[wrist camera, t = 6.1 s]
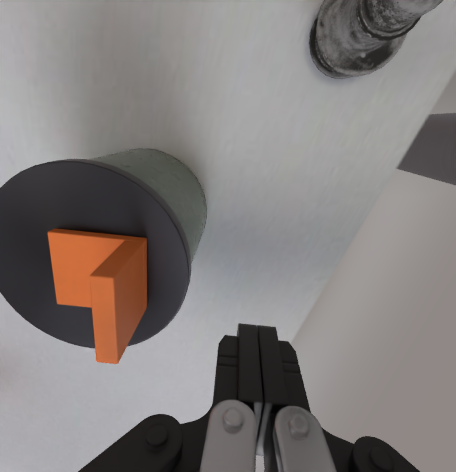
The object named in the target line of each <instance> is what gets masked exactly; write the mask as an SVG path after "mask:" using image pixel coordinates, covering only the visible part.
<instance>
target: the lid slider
mask: <svg viewBox="0 0 456 472" xmlns="http://www.w3.org/2000/svg"><path fill="white" fill-rule="evenodd" d="M48 239H49V247H50V254H51V262H52V269H53V277H54V284H55V292H56V299H57V304H63V305H72V306H82V307H91V308H92V315H93V327H94V339H95V351H96V361H97V362H103V363H112V364H118V363H119V361H120V359H121V357H122V355H123V353H124V351H125V349H126V347H127V345H128V343H129V341H130V339H131V337H132V335H133V333H134V332H135V330H136V328H137V326H138V324H139V322H140V320H141V318H142V316H143V314H144V312H145V310H146V308H147V238H142V237H133V236H123V235H113V234H104V233H94V232H84V231H75V230H65V229H55V228H54V229H52V230H50V231H48Z"/></svg>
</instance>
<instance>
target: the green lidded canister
mask: <svg viewBox="0 0 456 472" xmlns="http://www.w3.org/2000/svg"><path fill="white" fill-rule="evenodd" d="M206 217H207V207H206V200H205V196H204V193H203V190H202V188H201V186H200V184H199V182H198V180H197V179H196V177H195V176H194V175H193V173H192V172H191V171H190V170H189V169H188V168H187V167H186V166H185V165H184V164H183V163H181V162H180V161H179V160H177V159H175V158H174V157H172V156H170V155H168V154H166V153H163V152H160V151H157V150H151V149H134V150H129V151H124V152H120V153H116V154H111V155H107V156H102V157H98V158H94V159H89V160H87V159H66V160H57V161H52V162H47V163H43V164H39V165H35V166H33V167H30V168H28V169H26V170H23V171H21V172H20V173H18V174H17V175H15V176H14V177H12V178H11V179H10V180H8V181H7V182H6V183H5V184H4V185H3V186H2V187H1V188H0V292H1V294H2V295H3V296H4V298H5V299H6V301H7V302H8V303H9V304H10V305H11V306H12V307H13V308H14V309H15V311H17V312H18V313H19V314H20V315H21V316H22V317H23V318H24V319H25V320H27V321H28V322H30V323H31V324H32V325H34V326H35V327H36V328H38V329H40V330H41V331H43V332H45V333H46V334H49V335H51V336H53V337H55V338H57V339H59V340H62V341H65V342H67V343H70V344H74V345H78V346H82V347H89V348H95V339H94V327H93V315H92V308H91V307H82V306H72V305H63V304H57V299H56V292H55V284H54V277H53V269H52V262H51V254H50V247H49V239H48V231H50V230H52V229H54V228H55V229H65V230H75V231H84V232H94V233H104V234H113V235H123V236H133V237H142V238H147V308H146V310H145V312H144V314H143V316H142V318H141V320H140V322H139V324H138V326H137V328H136V330H135V332H134V333H133V335H132V337H131V339H130V341H129V343H128V345H127V346H131V345H134V344H137V343H140V342H142V341H145V340H147V339H149V338H151V337H152V336H154V335H156V334H157V333H159V332H160V331H161V330H162V329H164V328H165V327H166V326H167V325H168V324H169V323H170V322H171V321H172V320H173V318H174V317H175V316H176V314H177V313H178V311H179V310H180V307H181V305H182V303H183V301H184V299H185V296H186V293H187V289H188V286H189V282H190V276H191V264H192V261H193V258H194V255H195V252H196V250H197V247H198V244H199V241H200V238H201V236H202V233H203V230H204V227H205V223H206Z"/></svg>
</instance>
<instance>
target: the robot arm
mask: <svg viewBox="0 0 456 472" xmlns="http://www.w3.org/2000/svg"><path fill="white" fill-rule="evenodd" d="M256 455H259V456H264V466H265V467H264V468H265V470H264V472H420V471H419V470H418V469H416V468H415V467H414V466H413V465H412V464H411V463H409V462H408V461H407V460H406V459H405V458H404V457H403V456H402V455H400V454H399V453H398V452H397V451H396V450H395V449H393V448H392V447H391V446H390V445H389V444H387V443H385V442H384V441H382V440H380V439H377V438H375V437H370V436H365V437H361V438H359V439H358V440H357V441H356V442H355V444H353V443H350V442H348V441H346V440H343V439H341V438H338V437H336V436H334V435H332V434H330V433H328V432H327V431H326V430H324V429H323V428H322V427H321V425H320V423H319V422H318V420H317V419H316V418H315V416H314V415H313V414H311V411H310V408H309V404H308V400H307V396H306V392H305V388H304V384H303V380H302V375H301V373H300V367H299V365H298V360H297V356H296V351H295V350H294V349H293V347H292V346H291V345H290V343H289V342H287V341H278V336H277V331H276V327H270V326H260V325H257V326H256V325H249V324H240V323H239V324H238V330H237V336H228V335H225V336H224V337H223V339H222V340H221V341H220V343H219V347H218V356H217V366H216V375H215V386H214V396H213V404H212V406H211V408H210V410H209V411H208V412H207V413H206V414H205V415H204V416H203V417H201V418H200V419H198V420H195V421H192V422H188V423H184V424H180V423H179V422H178V421H177V420H176V419H175V418H173V417H172V416H169V415H165V414H156V415H152V416H150V417H148V418H146V419H144V420H143V421H141V422H140V423H139V424H138V425H136V426H135V427H134V428H133V429H131V430H130V431H129V432H128V433H126V434H125V435H124V436H122V437H121V438H120V439H119V440H117V441H116V442H115V443H114V444H112V445H111V446H110V447H109V448H107V449H106V450H105V451H104V452H102V453H101V454H100V455H98V456H97V457H96V458H95V459H93V460H92V461H91V462H90V463H88V464H87V465H86V466H85V467H83V468H82V469H81V470H80V471H78V472H255V466H256Z"/></svg>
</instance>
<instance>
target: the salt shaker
mask: <svg viewBox="0 0 456 472" xmlns="http://www.w3.org/2000/svg"><path fill="white" fill-rule="evenodd" d="M442 1H443V0H324V1H323V4H322V7H321V9H320V12H319V15H318V17H317V19H316V20H315V22H314V25H313V28H312V30H311V35H310V42H309V43H310V53H311V56H312V59H313V62H314V63H315V65H316V66H317V68H318V69H319V70H320V71H321V72H322V73H324V74H325V75H327V76H330V77H332V78H340V79H343V78H347V77H352V76H361V75H365V74H370V73H372V72H374V71H376V70H378V69H380V68H382V67H383V66H384V65H385V64H386V63H388V62H389V61H390V60H391V59H392V58H393V57H394V55H395V54H396V53H397V51H398V50H399V49H400V48H401V45H402V43H403V41H404V39H405V37H406V35H407V33H408V32H409V31H410V30H411V29H412V28H413V27H414V26H415V25H416V23H417V22H418V21H419V20H420V18H421V16H422V15H424V14H426V13H427V12H429V11H431V10H432V9H434V8H435V7H436V6H438V5H439V4H440V3H441V2H442Z"/></svg>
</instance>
